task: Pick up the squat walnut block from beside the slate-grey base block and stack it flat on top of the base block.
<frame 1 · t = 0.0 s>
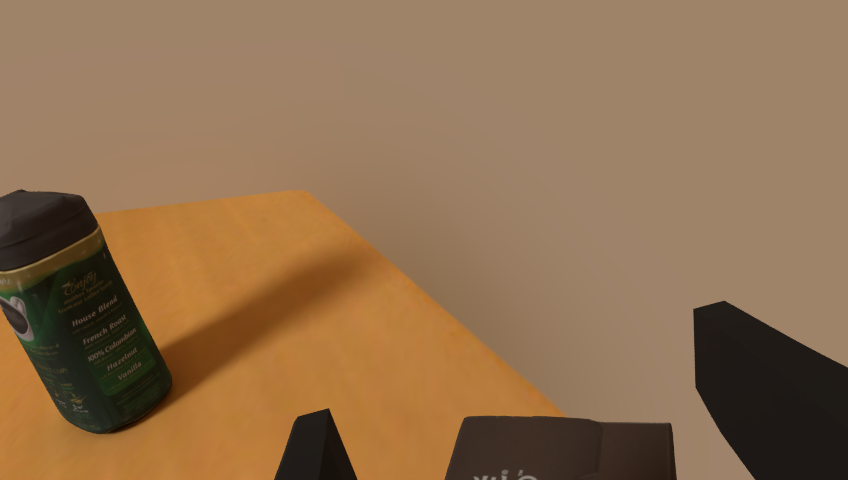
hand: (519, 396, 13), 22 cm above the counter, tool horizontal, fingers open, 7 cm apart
coffee jar: (121, 402, 58), on the counter
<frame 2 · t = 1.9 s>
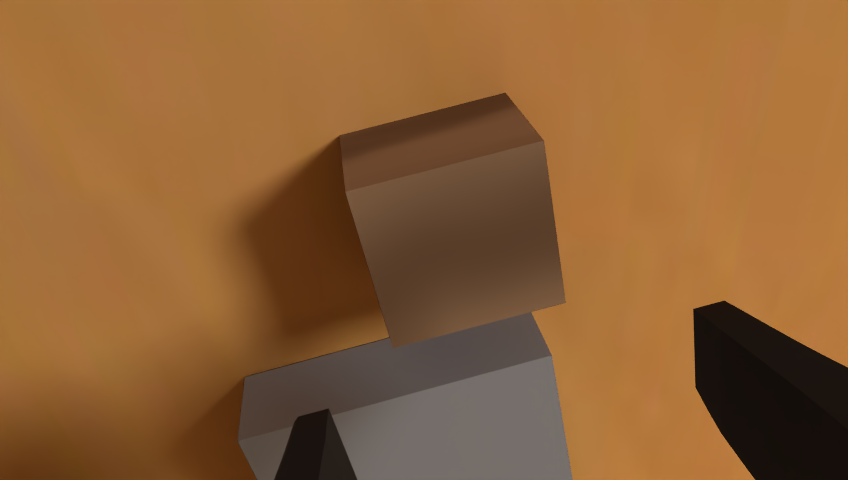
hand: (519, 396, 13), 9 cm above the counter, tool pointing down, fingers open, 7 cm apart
walnut block: (438, 187, 22), on the counter
slate base block: (417, 439, 27), on the counter
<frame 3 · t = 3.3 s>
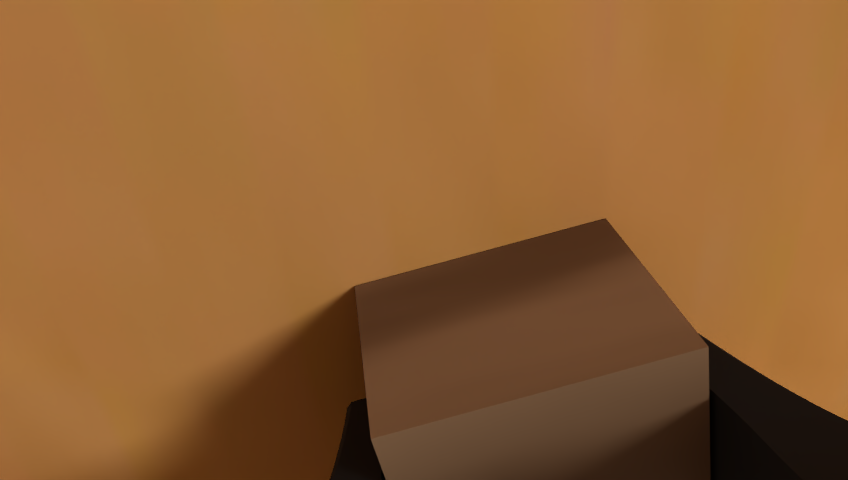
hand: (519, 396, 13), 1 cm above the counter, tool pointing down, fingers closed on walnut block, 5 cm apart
walnut block: (501, 350, 15), on the counter, touching gripper
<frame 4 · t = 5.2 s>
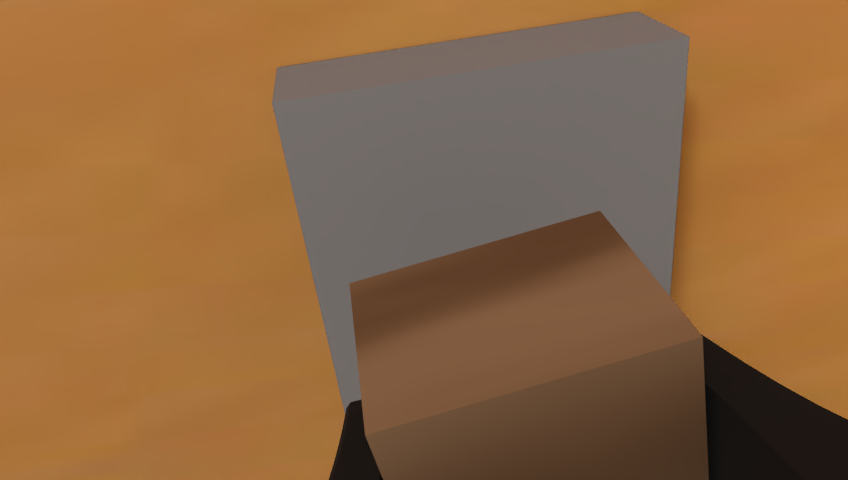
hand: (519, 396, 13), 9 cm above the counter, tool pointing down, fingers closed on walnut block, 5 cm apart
walnut block: (498, 345, 15), point 7 cm above the counter, touching gripper
slate base block: (475, 202, 21), on the counter
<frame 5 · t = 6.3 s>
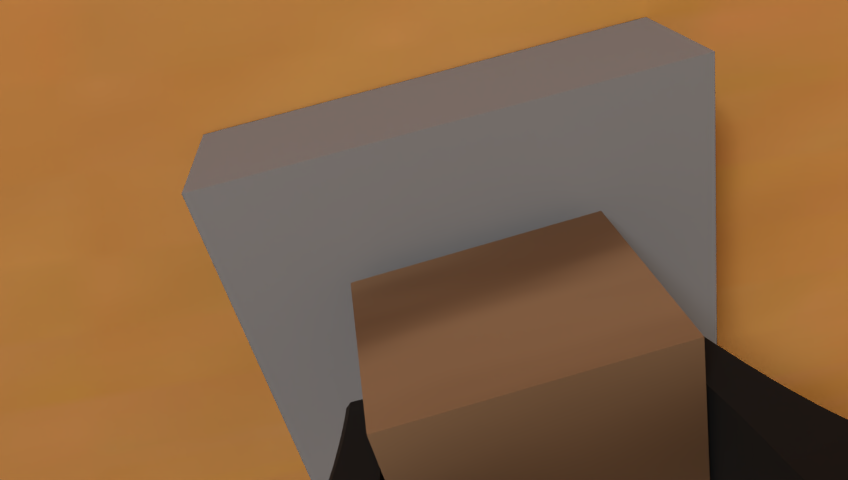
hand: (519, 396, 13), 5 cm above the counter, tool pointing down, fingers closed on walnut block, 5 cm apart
walnut block: (499, 344, 15), point 4 cm above the counter, touching gripper
slate base block: (468, 263, 18), on the counter
when the fingers open (5 cm above the counter, at t = 7.1 s): walnut block stays where it is, resting on slate base block.
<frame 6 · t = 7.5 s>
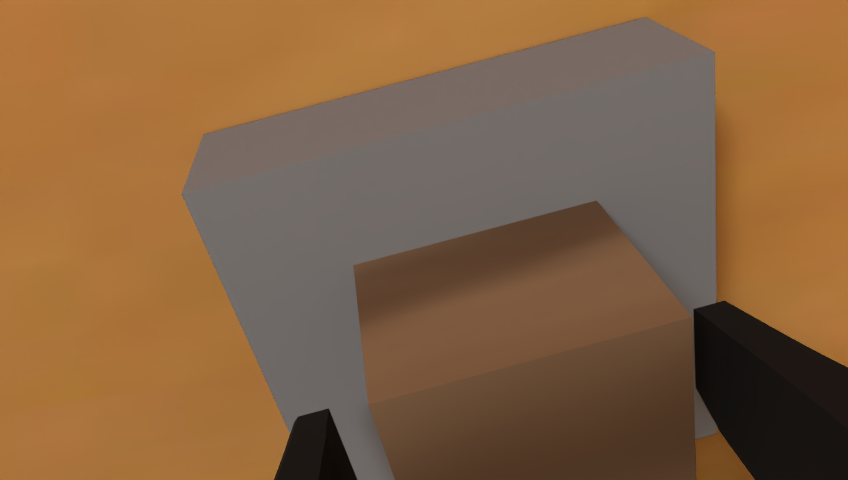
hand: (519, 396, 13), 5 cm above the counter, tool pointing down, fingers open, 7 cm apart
walnut block: (495, 329, 15), point 3 cm above the counter, touching slate base block
slate base block: (468, 263, 18), on the counter
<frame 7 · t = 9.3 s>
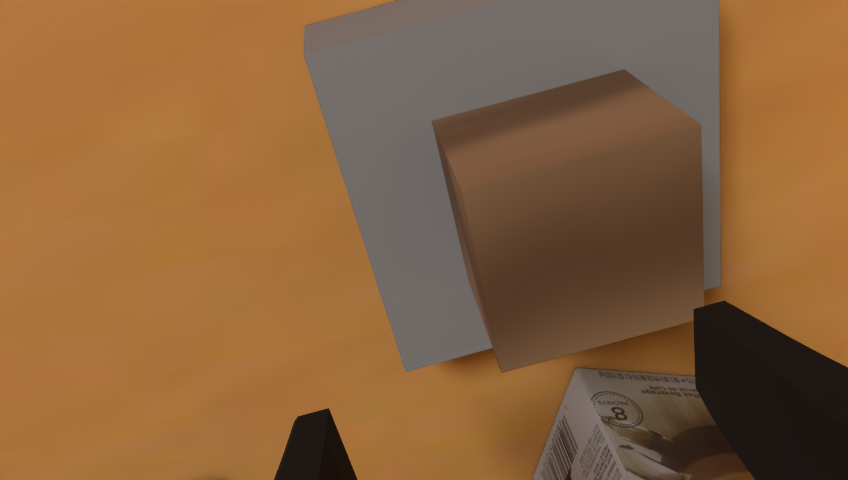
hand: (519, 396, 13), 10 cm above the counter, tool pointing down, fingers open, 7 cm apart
walnut block: (541, 182, 19), point 3 cm above the counter, touching slate base block
coffee box: (649, 426, 29), on the counter
slate base block: (513, 144, 21), on the counter
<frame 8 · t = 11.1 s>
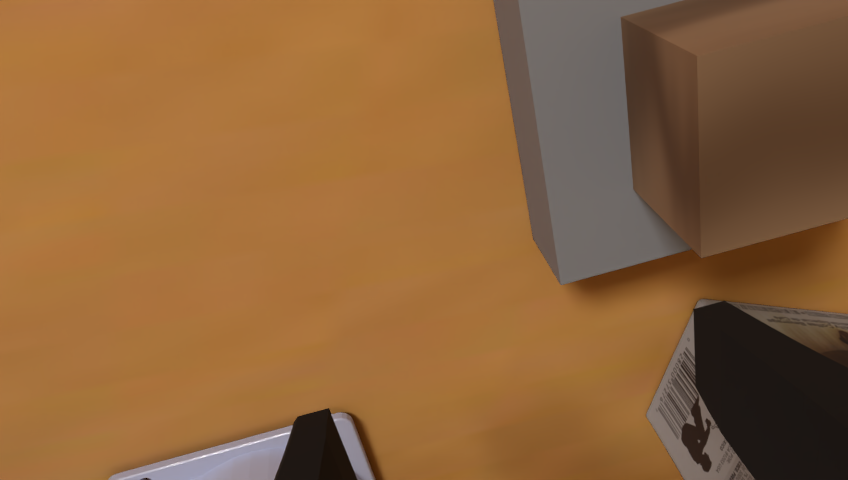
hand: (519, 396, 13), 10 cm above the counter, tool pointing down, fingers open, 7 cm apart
walnut block: (715, 85, 19), point 3 cm above the counter, touching slate base block
coffee box: (761, 363, 29), on the counter
slate base block: (665, 61, 22), on the counter
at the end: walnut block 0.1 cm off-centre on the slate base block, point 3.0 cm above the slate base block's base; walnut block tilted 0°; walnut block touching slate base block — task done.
